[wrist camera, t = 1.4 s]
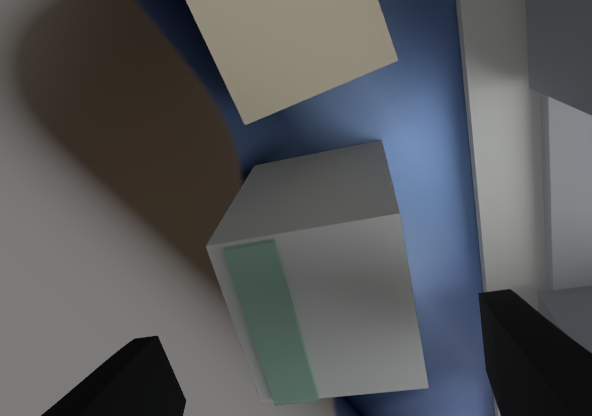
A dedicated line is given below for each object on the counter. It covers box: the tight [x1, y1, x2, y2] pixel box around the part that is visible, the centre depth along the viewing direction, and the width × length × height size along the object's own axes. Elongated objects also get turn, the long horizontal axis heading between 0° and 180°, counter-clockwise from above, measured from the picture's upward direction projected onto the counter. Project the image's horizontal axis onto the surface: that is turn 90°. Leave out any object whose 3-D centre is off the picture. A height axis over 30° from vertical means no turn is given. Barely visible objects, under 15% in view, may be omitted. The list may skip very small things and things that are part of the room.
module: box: [206, 140, 429, 405], centre depth 14 cm, size 5×4×6 cm
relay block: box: [186, 0, 398, 125], centre depth 12 cm, size 4×4×4 cm
